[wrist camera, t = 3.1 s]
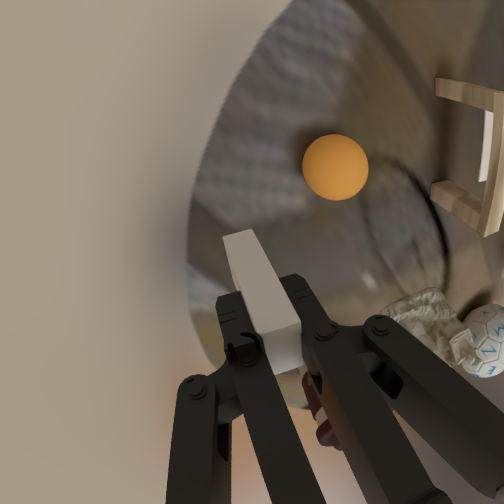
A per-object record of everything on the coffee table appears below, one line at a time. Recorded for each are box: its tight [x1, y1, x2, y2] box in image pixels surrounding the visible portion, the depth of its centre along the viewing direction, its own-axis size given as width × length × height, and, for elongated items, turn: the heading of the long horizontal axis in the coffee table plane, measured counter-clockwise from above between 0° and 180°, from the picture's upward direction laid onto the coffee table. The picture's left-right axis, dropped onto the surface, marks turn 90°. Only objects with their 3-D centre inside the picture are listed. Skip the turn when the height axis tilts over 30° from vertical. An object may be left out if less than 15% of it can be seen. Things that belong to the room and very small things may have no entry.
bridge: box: [430, 78, 504, 237], centre depth 25 cm, size 3×14×9 cm, turn 9°
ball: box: [302, 134, 368, 200], centre depth 24 cm, size 6×6×6 cm
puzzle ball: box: [461, 304, 504, 377], centre depth 47 cm, size 15×15×15 cm
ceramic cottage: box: [379, 288, 482, 367], centre depth 40 cm, size 16×16×15 cm
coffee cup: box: [298, 360, 393, 451], centre depth 36 cm, size 10×10×15 cm
